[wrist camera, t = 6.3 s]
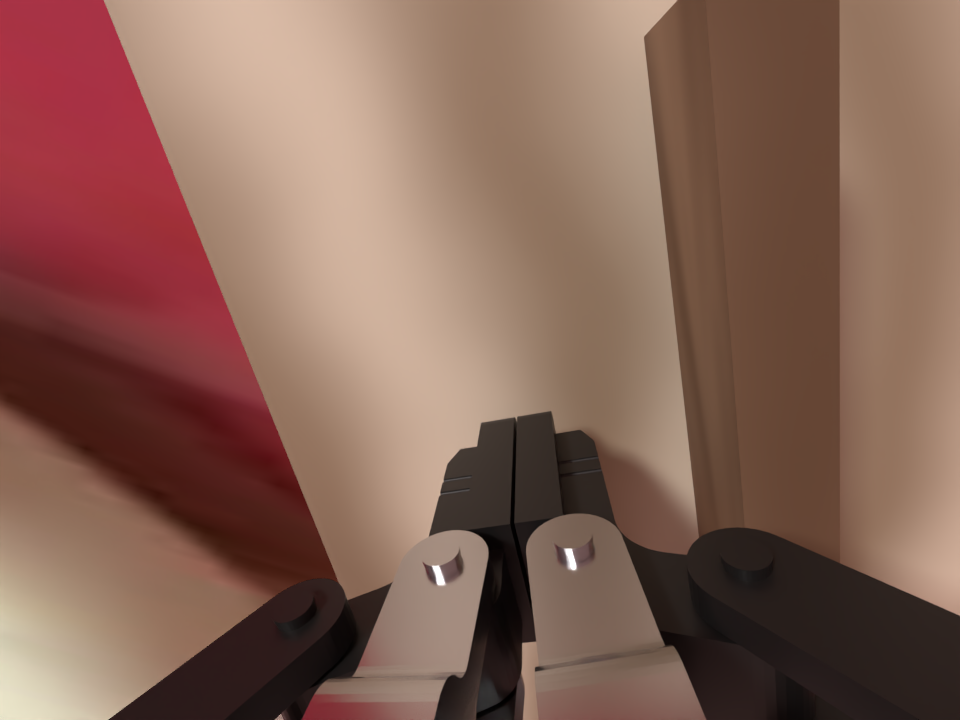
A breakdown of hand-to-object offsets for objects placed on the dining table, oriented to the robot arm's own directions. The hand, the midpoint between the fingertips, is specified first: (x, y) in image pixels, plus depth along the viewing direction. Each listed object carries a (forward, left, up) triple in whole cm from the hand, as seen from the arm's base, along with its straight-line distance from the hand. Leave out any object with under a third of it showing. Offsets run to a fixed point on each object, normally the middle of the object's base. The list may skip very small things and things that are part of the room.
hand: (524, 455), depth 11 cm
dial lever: (+4, -1, -1) cm, 4 cm away
